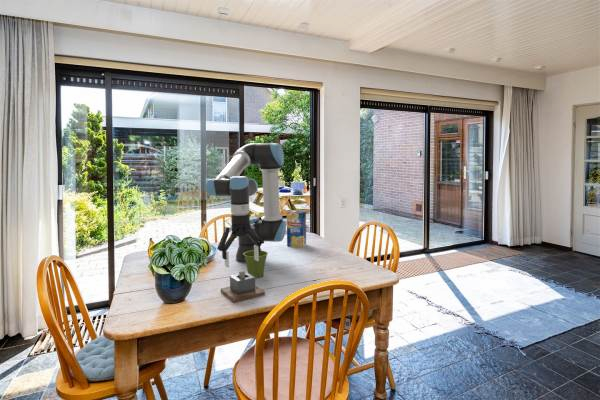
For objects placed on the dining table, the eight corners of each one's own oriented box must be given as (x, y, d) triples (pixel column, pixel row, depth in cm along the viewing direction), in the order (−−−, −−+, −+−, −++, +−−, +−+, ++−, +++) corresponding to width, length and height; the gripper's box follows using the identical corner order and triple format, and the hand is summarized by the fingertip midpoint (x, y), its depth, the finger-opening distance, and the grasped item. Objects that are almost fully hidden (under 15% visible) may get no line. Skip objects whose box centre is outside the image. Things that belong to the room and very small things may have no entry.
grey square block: (230, 289, 154) (229, 275, 153) (247, 285, 158) (246, 272, 158) (237, 295, 147) (237, 281, 147) (255, 291, 152) (255, 277, 151)
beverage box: (290, 243, 237) (290, 210, 234) (306, 244, 234) (306, 211, 231) (286, 246, 231) (286, 212, 228) (303, 247, 227) (303, 213, 225)
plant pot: (264, 280, 169) (264, 257, 167) (240, 279, 171) (239, 256, 169) (270, 272, 180) (270, 250, 179) (248, 271, 182) (247, 249, 181)
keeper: (220, 291, 155) (220, 270, 154) (250, 285, 163) (249, 264, 161) (234, 302, 143) (233, 280, 142) (265, 295, 151) (264, 273, 150)
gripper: (214, 218, 139) (217, 271, 142) (271, 211, 152) (272, 260, 155) (207, 215, 145) (210, 266, 148) (262, 209, 158) (264, 255, 162)
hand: (242, 263), depth 152 cm, fingers open, 13 cm apart
